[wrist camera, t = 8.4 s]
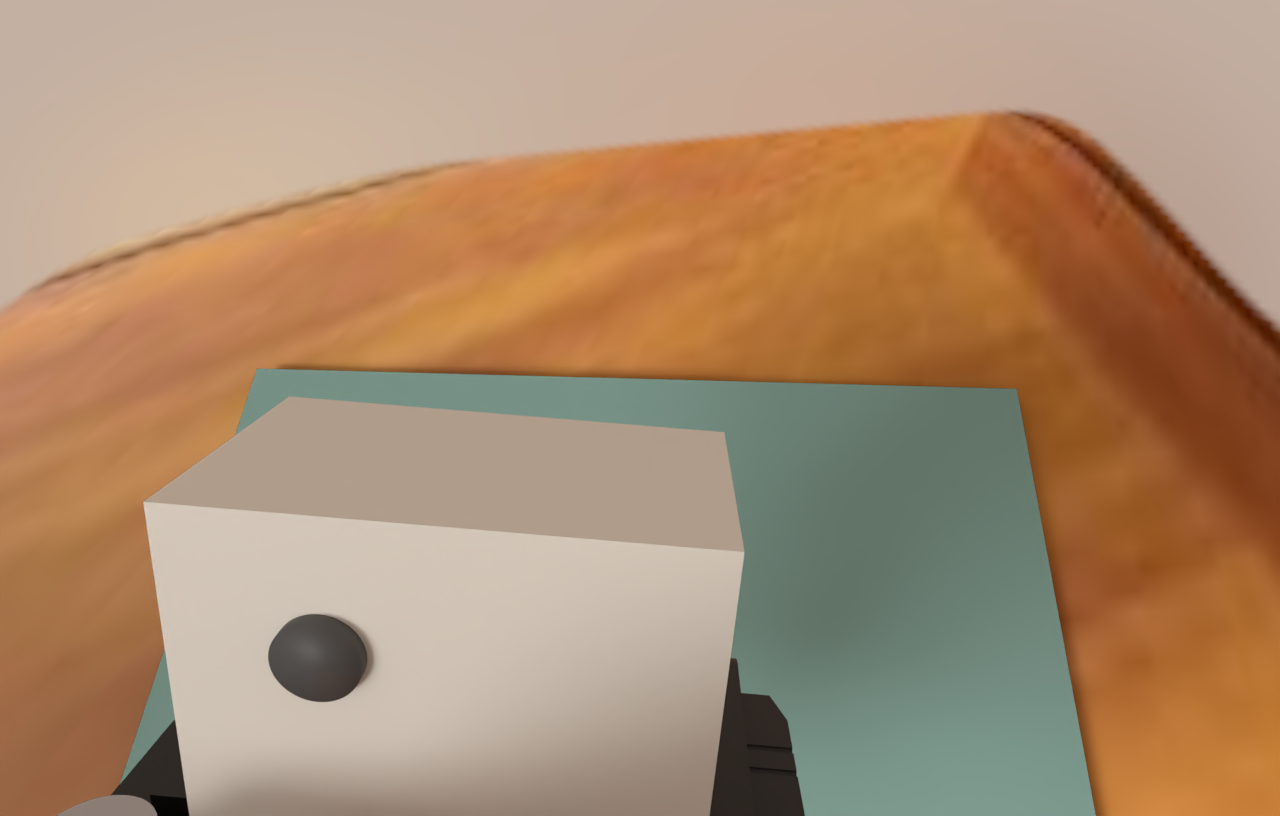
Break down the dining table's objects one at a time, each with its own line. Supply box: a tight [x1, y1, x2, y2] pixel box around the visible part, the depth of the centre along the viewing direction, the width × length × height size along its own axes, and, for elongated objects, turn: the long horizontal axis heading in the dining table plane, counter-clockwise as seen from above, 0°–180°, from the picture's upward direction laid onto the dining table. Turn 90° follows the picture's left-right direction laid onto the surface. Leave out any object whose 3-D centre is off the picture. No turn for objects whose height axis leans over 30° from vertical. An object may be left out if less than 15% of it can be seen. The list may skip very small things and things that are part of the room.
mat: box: [120, 369, 1096, 816], centre depth 23 cm, size 26×22×1 cm
